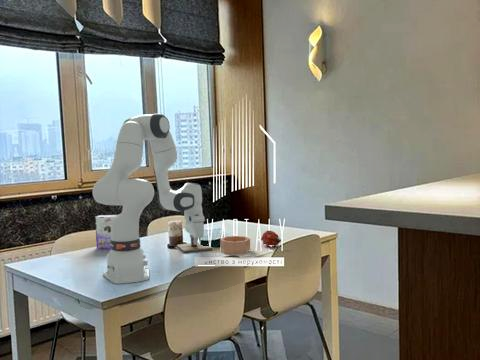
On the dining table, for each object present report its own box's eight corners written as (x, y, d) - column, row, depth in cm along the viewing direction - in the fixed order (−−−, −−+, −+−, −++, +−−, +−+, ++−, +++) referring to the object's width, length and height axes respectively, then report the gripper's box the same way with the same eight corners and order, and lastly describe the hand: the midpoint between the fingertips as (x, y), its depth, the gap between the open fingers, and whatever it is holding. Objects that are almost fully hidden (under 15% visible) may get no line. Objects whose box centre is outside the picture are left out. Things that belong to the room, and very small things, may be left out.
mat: (215, 251, 236) (215, 250, 236) (182, 254, 231) (182, 254, 231) (204, 244, 251) (204, 243, 251) (174, 247, 245) (174, 246, 245)
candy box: (126, 246, 250) (125, 214, 248) (122, 249, 244) (121, 216, 243) (100, 246, 251) (99, 214, 250) (96, 249, 246) (94, 216, 244)
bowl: (253, 252, 232) (253, 240, 232) (226, 255, 227) (226, 243, 227) (243, 246, 245) (243, 235, 244) (217, 249, 240) (217, 237, 239)
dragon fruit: (264, 246, 251) (278, 254, 242) (254, 239, 247) (267, 246, 237) (273, 232, 253) (287, 240, 243) (263, 224, 248) (277, 232, 238)
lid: (212, 250, 237) (212, 239, 236) (184, 253, 232) (183, 242, 231) (203, 244, 250) (203, 234, 249) (176, 247, 245) (176, 236, 244)
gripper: (181, 213, 248) (182, 239, 249) (192, 219, 229) (193, 248, 230) (193, 212, 250) (194, 238, 251) (205, 218, 231) (206, 247, 232)
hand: (194, 243), depth 241 cm, fingers closed on lid, 3 cm apart
